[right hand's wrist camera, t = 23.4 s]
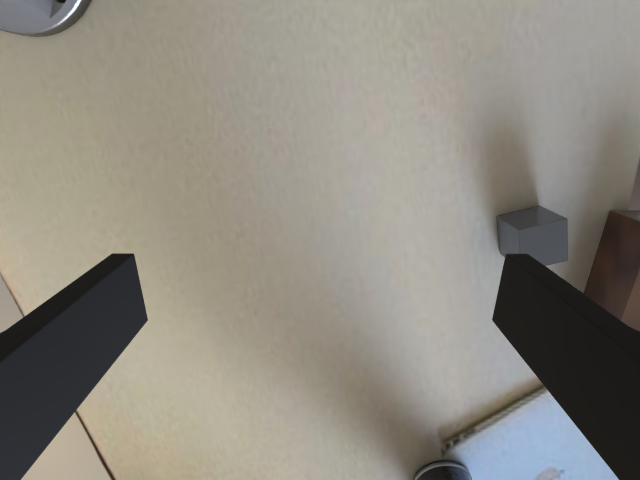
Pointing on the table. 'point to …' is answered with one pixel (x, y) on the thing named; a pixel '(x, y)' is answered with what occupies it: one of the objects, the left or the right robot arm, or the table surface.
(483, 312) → the table surface
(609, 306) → the walnut bar
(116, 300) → the right robot arm
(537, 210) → the slate cube
